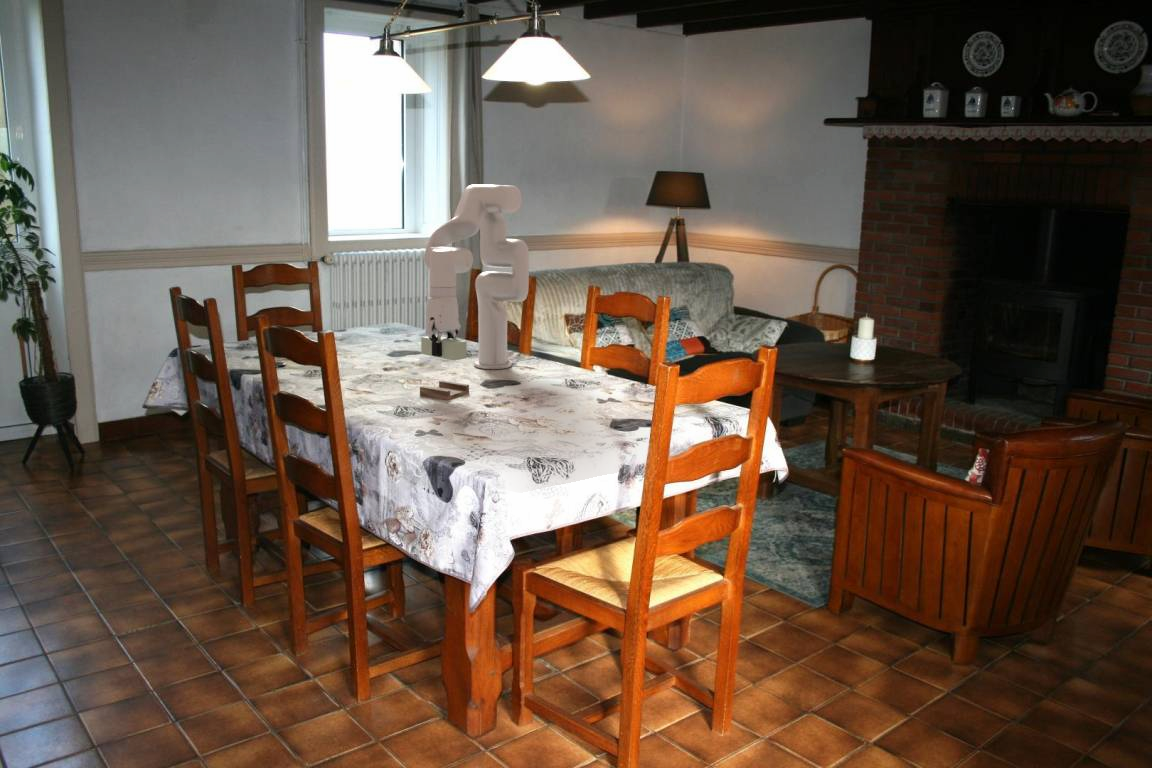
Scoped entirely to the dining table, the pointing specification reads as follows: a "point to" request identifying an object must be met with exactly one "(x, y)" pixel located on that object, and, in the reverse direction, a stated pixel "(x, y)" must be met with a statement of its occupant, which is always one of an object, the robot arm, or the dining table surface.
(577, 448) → the dining table surface
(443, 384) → the cradle
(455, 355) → the peg
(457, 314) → the robot arm
